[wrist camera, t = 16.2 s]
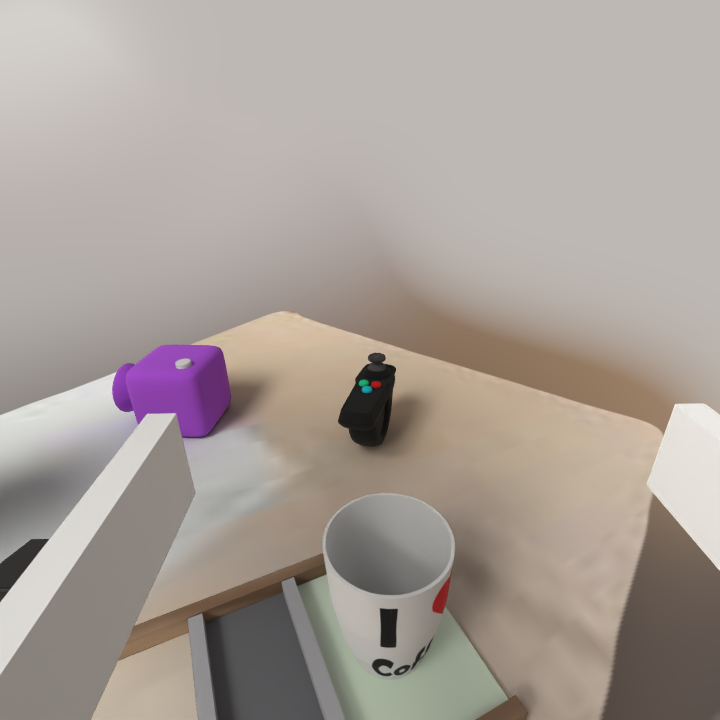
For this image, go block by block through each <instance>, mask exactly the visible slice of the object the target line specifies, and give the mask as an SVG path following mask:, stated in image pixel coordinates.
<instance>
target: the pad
mask: <svg viewBox="0 0 720 720" xmlns="http://www.w3.org/2000/svg"><path fill="white" fill-rule="evenodd" d="M297 587H298V590H299V593H300V596H301V598H302V601H303V604H304V607H305V610H306V612H307V615H308V618H309V621H310V623H311V626H312V629H313V632H314V634H315V637H316V640H317V643H318V646H319V648H320V651H321V654H322V657H323V659H324V662H325V665H326V668H327V671H328V673H329V676H330V679H331V682H332V684H333V687H334V690H335V693H336V696H337V698H338V701H339V704H340V707H341V709H342V712H343V715H344V718H345V720H476V719H477V718H479V717H481V716H482V715H484V714H485V713H487V712H489V711H490V710H492V709H494V708H495V707H497V706H499V705H500V704H502V703H503V702H505V701H507V700H508V698H507V696H506V695H505V693H504V692H503V690H502V689H501V687H500V686H499V684H498V683H497V681H496V680H495V678H494V677H493V675H492V674H491V672H490V671H489V669H488V668H487V666H486V665H485V663H484V662H483V660H482V659H481V658H480V656H479V655H478V653H477V652H476V650H475V649H474V647H473V646H472V644H471V643H470V641H469V640H468V638H467V637H466V635H465V634H464V632H463V631H462V629H461V628H460V626H459V625H458V623H457V622H456V620H455V619H454V618H453V616H452V615H451V613H450V612H449V610H448V609H447V607H446V606H445V608H444V611H443V614H442V617H441V620H440V623H439V625H438V628H437V631H436V634H435V637H434V640H433V642H432V644H431V646H430V648H429V649H428V651H427V652H426V654H425V655H424V656H423V658H422V659H421V661H420V662H419V664H418V665H417V667H416V668H415V669H414V670H413V671H412V672H411V673H409V674H408V675H406V676H404V677H401V678H398V679H381V678H378V677H375V676H373V675H372V674H370V673H368V672H367V671H366V670H365V669H364V668H363V667H362V666H361V665H360V663H359V662H358V660H357V659H356V657H355V656H354V654H353V653H352V651H351V649H350V648H349V646H348V645H347V643H346V641H345V639H344V637H343V634H342V631H341V628H340V625H339V622H338V619H337V616H336V613H335V610H334V607H333V604H332V601H331V596H330V590H329V584H328V578H327V574H326V575H324V576H321V577H319V578H316V579H314V580H311V581H309V582H307V583H304V584H302V585H299V586H297Z"/></svg>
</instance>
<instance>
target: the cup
mask: <svg viewBox="0 0 720 720" xmlns="http://www.w3.org/2000/svg"><path fill="white" fill-rule="evenodd" d="M322 548H323V555H324V561H325V566H326V572H327V578H328V584H329V590H330V596H331V601H332V604H333V607H334V610H335V613H336V616H337V619H338V622H339V625H340V628H341V631H342V634H343V637H344V639H345V641H346V643H347V645H348V646H349V648H350V649H351V651H352V653H353V654H354V656H355V657H356V659H357V660H358V662H359V663H360V665H361V666H362V667H363V668H364V669H365V670H366V671H367V672H368V673H370V674H372V675H373V676H375V677H378V678H381V679H398V678H401V677H404V676H406V675H408V674H409V673H411V672H412V671H413V670H414V669H415V668H416V667H417V665H418V664H419V662H420V661H421V659H422V658H423V656H424V655H425V654H426V652H427V651H428V649H429V648H430V646H431V644H432V642H433V640H434V637H435V634H436V631H437V628H438V625H439V623H440V620H441V617H442V614H443V611H444V608H445V605H446V601H447V595H448V589H449V584H450V578H451V572H452V566H453V561H454V555H455V540H454V536H453V533H452V530H451V528H450V526H449V524H448V523H447V521H446V520H445V519H444V517H443V516H442V515H441V514H440V513H439V512H438V511H437V510H436V509H434V508H433V507H432V506H430V505H429V504H427V503H425V502H423V501H421V500H419V499H417V498H414V497H411V496H407V495H403V494H397V493H376V494H370V495H366V496H362V497H359V498H357V499H354V500H352V501H350V502H349V503H347V504H345V505H344V506H343V507H341V508H340V509H339V510H338V511H337V512H336V513H335V514H334V515H333V516H332V517H331V519H330V520H329V522H328V524H327V526H326V528H325V531H324V534H323V540H322Z"/></svg>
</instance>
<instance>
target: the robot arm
mask: <svg viewBox="0 0 720 720" xmlns="http://www.w3.org/2000/svg"><path fill="white" fill-rule="evenodd" d="M647 486H648V487H649V488H650V490H651V491H652V492H653V493H654V494H655V495H656V497H657V498H658V499H659V500H660V501H661V502H662V504H663V505H664V506H665V507H666V508H667V509H668V511H669V512H670V513H671V514H672V515H673V517H675V519H676V520H677V521H678V522H679V523H680V525H681V526H682V527H683V528H684V529H685V531H686V532H687V533H688V534H689V535H690V536H691V538H692V539H693V540H694V541H695V542H696V543H697V545H698V546H699V547H700V548H701V549H702V550H703V552H704V553H705V554H706V555H707V556H708V558H709V559H710V560H711V561H712V562H713V563H714V565H715V566H716V567H717V568H718V569H719V570H720V415H719V414H718V413H716V412H715V411H714V410H712V409H711V408H710V407H708V406H707V405H706V404H675V406H674V409H673V412H672V415H671V417H670V420H669V423H668V426H667V429H666V431H665V434H664V437H663V440H662V443H661V445H660V448H659V451H658V454H657V457H656V459H655V462H654V465H653V468H652V471H651V473H650V476H649V479H648V482H647ZM194 495H195V489H194V485H193V481H192V477H191V473H190V468H189V464H188V460H187V456H186V452H185V448H184V444H183V440H182V435H181V431H180V427H179V423H178V419H177V415H176V413H165V414H147V415H146V416H145V417H144V418H143V420H142V421H141V422H140V424H139V425H138V426H137V427H136V429H135V430H134V431H133V433H132V434H131V435H130V436H129V438H128V439H127V440H126V442H125V443H124V444H123V445H122V447H121V448H120V449H119V450H118V452H117V453H116V454H115V456H114V457H113V458H112V459H111V461H110V462H109V463H108V465H107V466H106V467H105V468H104V470H103V471H102V472H101V474H100V475H99V476H98V477H97V479H96V480H95V481H94V483H93V484H92V485H91V486H90V488H89V489H88V490H87V492H86V493H85V494H84V495H83V497H82V498H81V499H80V501H79V502H78V503H77V504H76V506H75V507H74V508H73V510H72V511H71V512H70V513H69V515H68V516H67V517H66V519H65V520H64V521H63V522H62V524H61V525H60V526H59V528H58V529H57V530H56V531H55V533H54V534H53V535H52V537H51V538H50V539H31V540H30V541H29V542H27V543H26V544H25V545H24V546H22V547H21V548H20V549H18V550H17V551H16V552H14V553H13V554H12V555H10V556H9V557H8V558H7V559H5V560H4V561H3V562H2V563H1V564H0V720H91V718H92V716H93V713H94V711H95V709H96V707H97V705H98V703H99V700H100V698H101V696H102V694H103V692H104V690H105V688H106V685H107V683H108V681H109V679H110V677H111V675H112V672H113V670H114V668H115V666H116V664H117V662H118V659H119V657H120V655H121V653H122V651H123V649H124V646H125V644H126V642H127V640H128V638H129V636H130V633H131V631H132V629H133V627H134V625H135V623H136V621H137V618H138V616H139V614H140V612H141V610H142V608H143V605H144V603H145V601H146V599H147V597H148V595H149V592H150V590H151V588H152V586H153V584H154V582H155V579H156V577H157V575H158V573H159V571H160V569H161V566H162V564H163V562H164V560H165V558H166V556H167V553H168V551H169V549H170V547H171V545H172V543H173V541H174V538H175V536H176V534H177V532H178V530H179V528H180V525H181V523H182V521H183V519H184V517H185V515H186V512H187V510H188V508H189V506H190V504H191V502H192V499H193V497H194Z"/></svg>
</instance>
